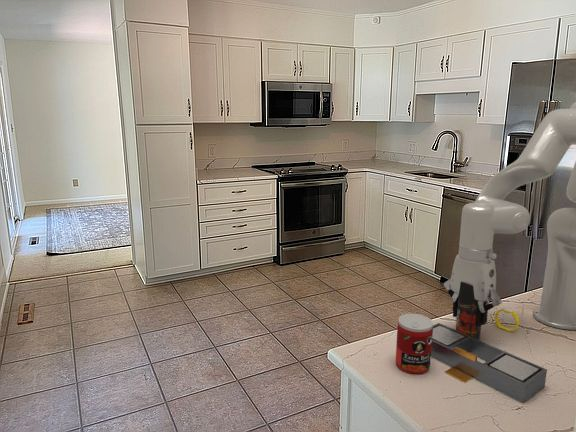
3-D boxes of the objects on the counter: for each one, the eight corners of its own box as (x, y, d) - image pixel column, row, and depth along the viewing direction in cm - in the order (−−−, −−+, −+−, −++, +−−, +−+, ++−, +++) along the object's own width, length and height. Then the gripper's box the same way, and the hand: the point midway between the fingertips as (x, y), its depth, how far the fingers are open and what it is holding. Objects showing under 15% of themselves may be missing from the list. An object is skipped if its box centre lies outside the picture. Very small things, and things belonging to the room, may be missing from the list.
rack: (437, 336, 114) (438, 319, 113) (544, 386, 93) (547, 365, 92) (406, 351, 107) (407, 333, 106) (514, 409, 86) (517, 386, 85)
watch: (518, 332, 117) (523, 312, 115) (513, 335, 115) (518, 315, 113) (496, 322, 121) (500, 303, 120) (491, 325, 120) (495, 306, 118)
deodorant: (450, 332, 116) (454, 278, 113) (469, 328, 118) (473, 275, 115) (465, 343, 111) (470, 287, 107) (485, 339, 112) (490, 284, 109)
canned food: (399, 375, 97) (402, 329, 95) (391, 355, 105) (394, 313, 103) (434, 375, 97) (438, 329, 95) (424, 355, 105) (427, 313, 103)
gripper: (517, 259, 105) (509, 328, 109) (453, 242, 118) (448, 305, 122) (500, 265, 100) (493, 337, 104) (435, 247, 114) (431, 312, 118)
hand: (468, 319), depth 113 cm, fingers closed on deodorant, 5 cm apart
